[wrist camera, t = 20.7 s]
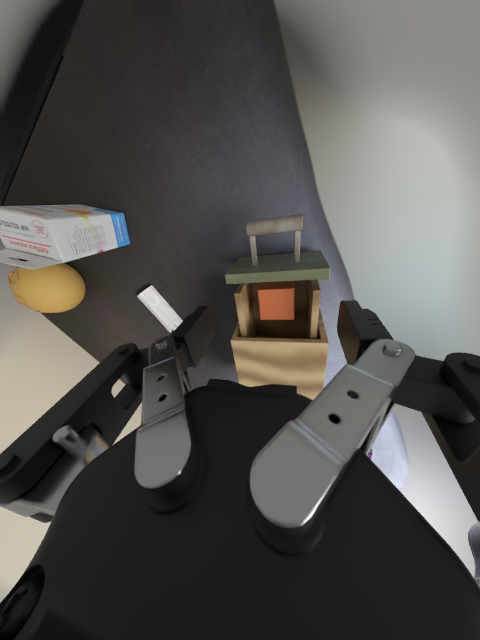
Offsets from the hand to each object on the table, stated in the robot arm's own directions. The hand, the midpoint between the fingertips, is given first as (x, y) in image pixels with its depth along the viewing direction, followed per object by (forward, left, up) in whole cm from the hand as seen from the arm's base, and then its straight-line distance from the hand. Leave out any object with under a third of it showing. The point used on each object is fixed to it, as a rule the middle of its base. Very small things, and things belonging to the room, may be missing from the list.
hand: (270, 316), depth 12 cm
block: (0, +3, -14) cm, 15 cm away
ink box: (+29, +3, -19) cm, 35 cm away
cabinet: (-5, +17, -19) cm, 25 cm away
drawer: (-1, +5, -18) cm, 19 cm away
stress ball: (+39, +15, -19) cm, 46 cm away
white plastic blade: (+18, +19, -19) cm, 32 cm away
